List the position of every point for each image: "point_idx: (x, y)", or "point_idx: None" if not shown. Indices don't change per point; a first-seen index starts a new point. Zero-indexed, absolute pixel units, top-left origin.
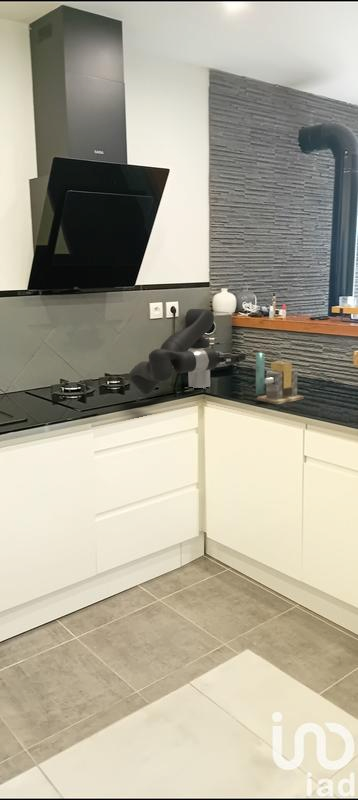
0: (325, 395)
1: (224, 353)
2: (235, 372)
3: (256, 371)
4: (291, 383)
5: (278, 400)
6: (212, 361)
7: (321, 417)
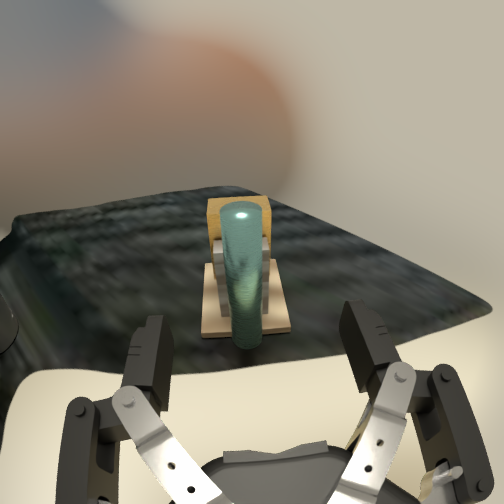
0: None
1: (381, 479)
2: (21, 232)
3: (241, 291)
4: None
5: (278, 316)
6: None
7: (442, 318)
